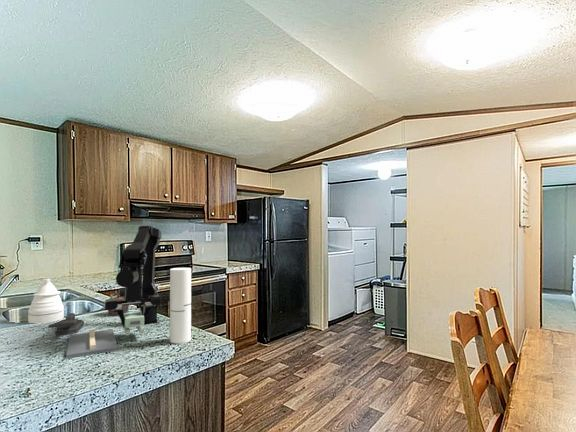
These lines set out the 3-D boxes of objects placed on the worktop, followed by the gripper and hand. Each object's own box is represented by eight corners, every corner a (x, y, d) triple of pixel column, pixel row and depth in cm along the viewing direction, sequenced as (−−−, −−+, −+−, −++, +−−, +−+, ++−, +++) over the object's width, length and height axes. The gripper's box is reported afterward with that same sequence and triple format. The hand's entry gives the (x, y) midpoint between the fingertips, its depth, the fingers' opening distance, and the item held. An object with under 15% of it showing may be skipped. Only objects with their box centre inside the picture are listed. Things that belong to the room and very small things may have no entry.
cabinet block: (140, 325, 132) (140, 311, 133) (144, 333, 123) (144, 317, 123) (123, 328, 129) (123, 313, 130) (125, 335, 120) (125, 319, 120)
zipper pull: (45, 325, 119) (59, 310, 142) (45, 345, 119) (59, 326, 142) (75, 322, 123) (84, 308, 146) (75, 341, 123) (84, 324, 145)
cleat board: (112, 331, 134) (112, 325, 134) (117, 350, 113) (117, 343, 113) (69, 337, 127) (69, 331, 127) (66, 358, 106) (66, 351, 106)
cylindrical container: (194, 339, 123) (195, 268, 124) (176, 344, 118) (176, 270, 119) (184, 335, 128) (184, 267, 129) (165, 340, 123) (166, 268, 124)
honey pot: (63, 320, 151) (64, 279, 152) (26, 325, 144) (27, 281, 145) (63, 314, 162) (64, 275, 163) (29, 318, 155) (30, 278, 156)
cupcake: (132, 314, 163) (132, 292, 163) (110, 317, 156) (110, 295, 156) (125, 310, 170) (125, 289, 170) (103, 314, 163) (103, 292, 163)
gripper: (156, 278, 139) (156, 317, 138) (103, 282, 129) (103, 324, 129) (162, 281, 129) (161, 324, 129) (105, 286, 120) (104, 332, 119)
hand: (133, 326), depth 127 cm, fingers closed on cabinet block, 6 cm apart
